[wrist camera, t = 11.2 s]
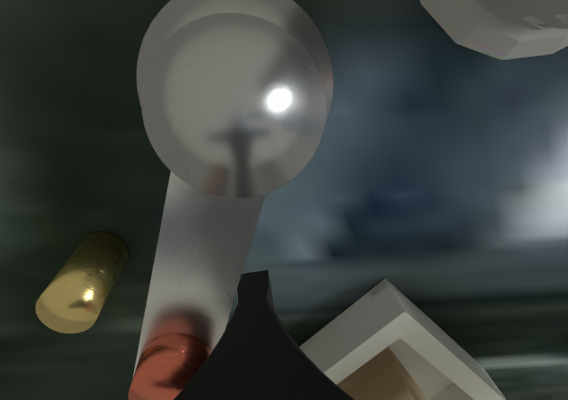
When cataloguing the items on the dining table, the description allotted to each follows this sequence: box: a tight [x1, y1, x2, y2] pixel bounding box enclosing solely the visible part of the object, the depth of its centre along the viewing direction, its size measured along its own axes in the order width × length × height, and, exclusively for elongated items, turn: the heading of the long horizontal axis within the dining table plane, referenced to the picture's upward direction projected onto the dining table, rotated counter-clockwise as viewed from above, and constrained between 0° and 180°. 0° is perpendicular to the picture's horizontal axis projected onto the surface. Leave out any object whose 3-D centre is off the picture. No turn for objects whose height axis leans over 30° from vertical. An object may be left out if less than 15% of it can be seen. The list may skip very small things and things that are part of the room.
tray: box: [300, 278, 506, 400], centre depth 18 cm, size 9×9×2 cm
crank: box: [128, 13, 326, 400], centre depth 10 cm, size 11×4×4 cm, turn 164°
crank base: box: [35, 0, 333, 334], centre depth 12 cm, size 6×12×4 cm, turn 134°
